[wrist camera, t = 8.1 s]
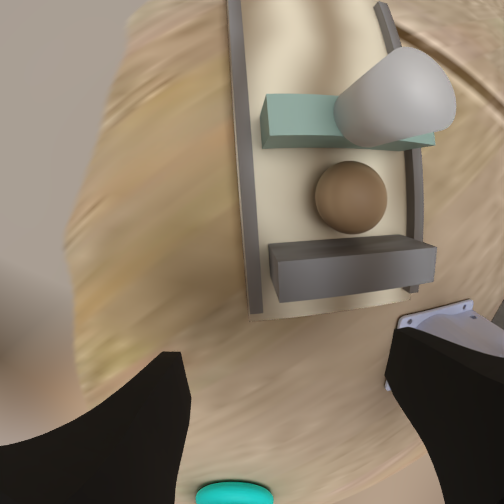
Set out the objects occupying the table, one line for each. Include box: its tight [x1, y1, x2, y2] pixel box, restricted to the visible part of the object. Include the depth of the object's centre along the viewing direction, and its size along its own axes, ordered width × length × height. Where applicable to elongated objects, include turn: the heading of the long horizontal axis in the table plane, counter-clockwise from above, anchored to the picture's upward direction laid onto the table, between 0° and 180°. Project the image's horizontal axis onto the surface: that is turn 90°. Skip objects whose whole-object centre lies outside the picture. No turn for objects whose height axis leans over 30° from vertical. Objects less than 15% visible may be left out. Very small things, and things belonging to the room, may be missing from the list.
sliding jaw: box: [260, 47, 456, 151], centre depth 10 cm, size 9×3×9 cm, turn 94°
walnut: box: [315, 161, 387, 234], centre depth 14 cm, size 4×4×4 cm
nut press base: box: [227, 0, 437, 322], centre depth 14 cm, size 12×24×6 cm, turn 4°
